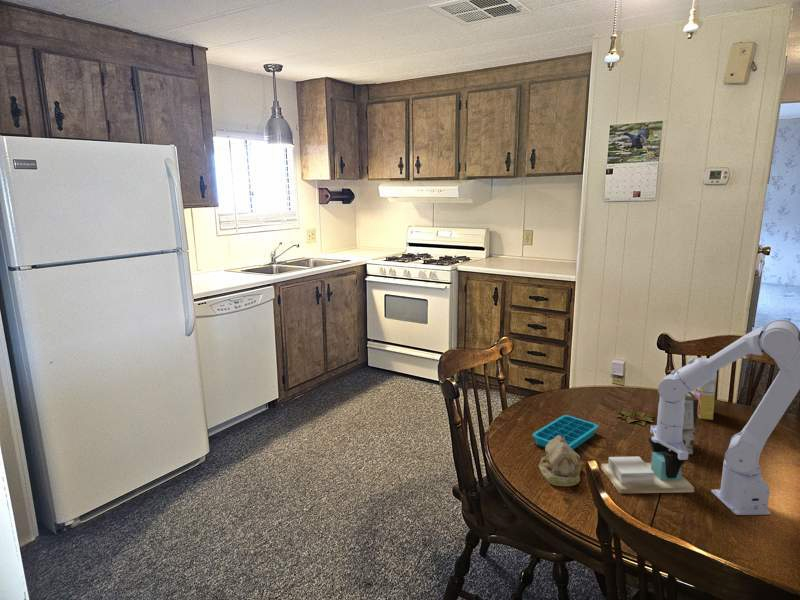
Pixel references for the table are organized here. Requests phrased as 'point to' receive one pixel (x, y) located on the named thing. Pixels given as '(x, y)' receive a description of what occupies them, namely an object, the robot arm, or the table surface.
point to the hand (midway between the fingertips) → (665, 471)
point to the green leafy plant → (636, 415)
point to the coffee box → (689, 421)
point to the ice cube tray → (566, 431)
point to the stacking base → (651, 487)
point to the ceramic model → (560, 463)
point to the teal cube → (661, 467)
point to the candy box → (706, 400)
